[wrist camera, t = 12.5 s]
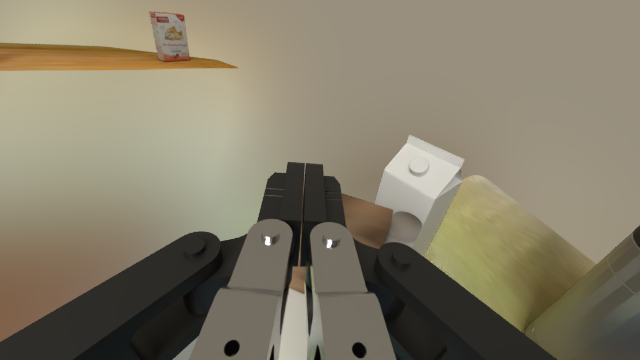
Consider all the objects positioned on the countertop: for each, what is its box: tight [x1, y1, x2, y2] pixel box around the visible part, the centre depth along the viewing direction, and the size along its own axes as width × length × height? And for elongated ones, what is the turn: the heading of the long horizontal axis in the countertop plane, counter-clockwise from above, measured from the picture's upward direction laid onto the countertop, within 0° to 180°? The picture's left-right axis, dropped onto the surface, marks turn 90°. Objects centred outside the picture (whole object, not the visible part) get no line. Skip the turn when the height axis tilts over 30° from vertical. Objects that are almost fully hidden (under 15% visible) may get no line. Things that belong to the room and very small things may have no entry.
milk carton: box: [374, 135, 465, 257], centre depth 35 cm, size 7×7×19 cm
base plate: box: [279, 288, 307, 360], centre depth 29 cm, size 14×13×7 cm
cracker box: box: [149, 12, 190, 62], centre depth 128 cm, size 14×6×21 cm, turn 146°
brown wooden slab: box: [289, 187, 422, 294], centre depth 28 cm, size 14×3×15 cm, turn 69°
